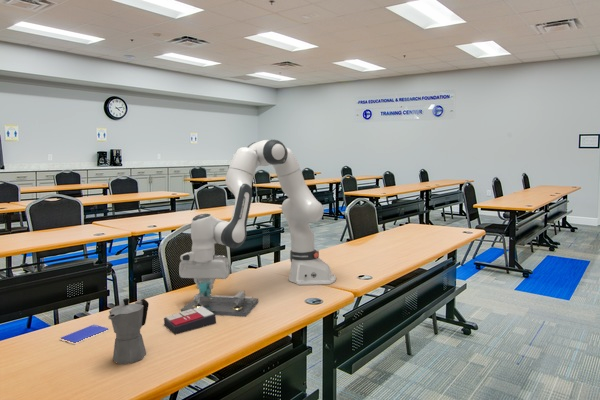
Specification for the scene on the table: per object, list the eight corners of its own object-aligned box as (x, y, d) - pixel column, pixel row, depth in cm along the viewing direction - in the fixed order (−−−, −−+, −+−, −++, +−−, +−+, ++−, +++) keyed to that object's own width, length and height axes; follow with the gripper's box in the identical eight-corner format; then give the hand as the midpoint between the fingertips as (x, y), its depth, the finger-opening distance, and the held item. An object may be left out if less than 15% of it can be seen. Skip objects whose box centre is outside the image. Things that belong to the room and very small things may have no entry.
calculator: (163, 315, 152) (202, 304, 161) (164, 327, 153) (203, 315, 162) (174, 325, 144) (215, 312, 152) (175, 337, 144) (216, 323, 153)
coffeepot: (125, 370, 120) (121, 307, 118) (100, 364, 124) (95, 304, 122) (162, 347, 135) (159, 291, 133) (138, 343, 138) (134, 288, 136)
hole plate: (258, 302, 174) (258, 287, 174) (246, 316, 159) (245, 301, 158) (198, 299, 179) (197, 285, 179) (180, 313, 164) (179, 298, 163)
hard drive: (93, 324, 152) (59, 337, 142) (108, 328, 148) (74, 342, 138) (93, 328, 152) (59, 342, 142) (108, 332, 149) (75, 346, 138)
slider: (211, 298, 175) (210, 281, 174) (202, 305, 166) (201, 288, 165) (203, 297, 175) (203, 281, 175) (194, 305, 167) (193, 287, 166)
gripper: (231, 253, 172) (232, 287, 174) (183, 252, 176) (185, 285, 178) (225, 257, 166) (226, 292, 168) (176, 256, 170) (178, 290, 172)
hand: (205, 288), depth 173 cm, fingers closed on slider, 3 cm apart
